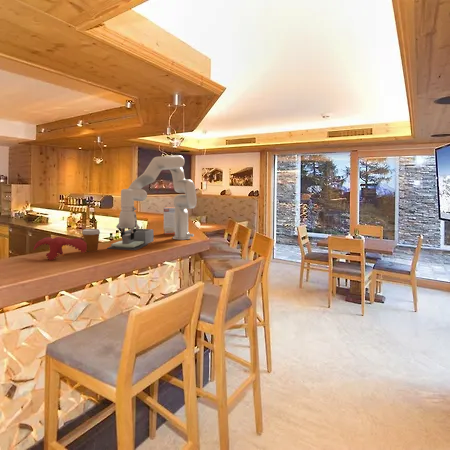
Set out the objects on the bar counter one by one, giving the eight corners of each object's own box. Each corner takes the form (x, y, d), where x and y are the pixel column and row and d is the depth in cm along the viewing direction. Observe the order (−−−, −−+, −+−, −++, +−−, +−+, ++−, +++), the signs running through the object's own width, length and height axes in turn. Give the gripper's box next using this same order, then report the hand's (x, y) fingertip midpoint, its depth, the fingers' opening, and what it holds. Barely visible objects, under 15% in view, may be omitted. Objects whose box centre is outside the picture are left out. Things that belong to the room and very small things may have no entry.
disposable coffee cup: (99, 252, 185) (99, 231, 184) (81, 252, 183) (80, 231, 181) (101, 248, 194) (100, 228, 193) (83, 249, 192) (83, 228, 190)
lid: (144, 244, 209) (144, 233, 208) (134, 248, 195) (134, 237, 194) (122, 243, 211) (122, 232, 211) (111, 247, 197) (110, 235, 196)
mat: (147, 244, 210) (147, 244, 210) (135, 250, 193) (135, 249, 193) (121, 243, 213) (121, 242, 213) (106, 248, 196) (106, 247, 196)
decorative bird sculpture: (83, 268, 167) (92, 243, 176) (75, 258, 159) (85, 233, 168) (30, 265, 169) (42, 241, 178) (20, 256, 162) (33, 231, 170)
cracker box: (183, 233, 261) (183, 207, 258) (181, 235, 255) (181, 208, 252) (165, 233, 262) (165, 206, 260) (163, 234, 256) (163, 207, 254)
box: (153, 240, 226) (153, 229, 225) (145, 244, 212) (145, 232, 211) (134, 239, 228) (134, 228, 227) (124, 243, 214) (124, 231, 213)
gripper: (143, 209, 203) (143, 238, 205) (117, 208, 205) (117, 237, 208) (138, 210, 195) (138, 240, 198) (111, 209, 198) (111, 239, 200)
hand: (127, 238), depth 203 cm, fingers open, 5 cm apart
